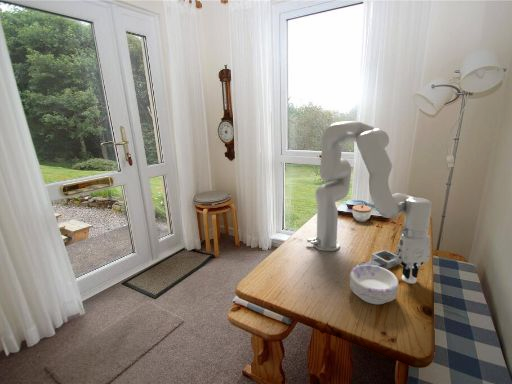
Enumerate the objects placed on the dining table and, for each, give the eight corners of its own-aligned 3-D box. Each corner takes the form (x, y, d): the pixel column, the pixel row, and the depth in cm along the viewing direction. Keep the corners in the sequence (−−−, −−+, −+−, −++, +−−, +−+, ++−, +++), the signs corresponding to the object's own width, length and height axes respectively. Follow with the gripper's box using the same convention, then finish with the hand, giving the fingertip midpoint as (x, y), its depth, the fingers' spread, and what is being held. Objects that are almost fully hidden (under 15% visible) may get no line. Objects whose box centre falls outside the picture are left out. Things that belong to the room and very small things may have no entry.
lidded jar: (372, 223, 150) (373, 208, 147) (352, 222, 152) (353, 207, 150) (369, 216, 160) (370, 202, 157) (350, 216, 162) (351, 202, 160)
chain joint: (366, 276, 101) (366, 269, 100) (351, 266, 108) (352, 260, 108) (418, 257, 112) (418, 251, 111) (401, 249, 119) (402, 243, 119)
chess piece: (411, 275, 100) (414, 252, 98) (419, 283, 96) (423, 259, 93) (398, 276, 100) (401, 253, 98) (406, 283, 95) (409, 260, 93)
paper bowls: (375, 317, 81) (377, 296, 78) (340, 290, 94) (341, 271, 92) (406, 300, 87) (409, 280, 85) (369, 277, 100) (370, 259, 98)
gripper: (400, 237, 89) (394, 283, 94) (444, 234, 89) (437, 280, 94) (388, 229, 96) (383, 272, 101) (429, 226, 96) (423, 269, 101)
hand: (409, 275), depth 97 cm, fingers closed on chess piece
